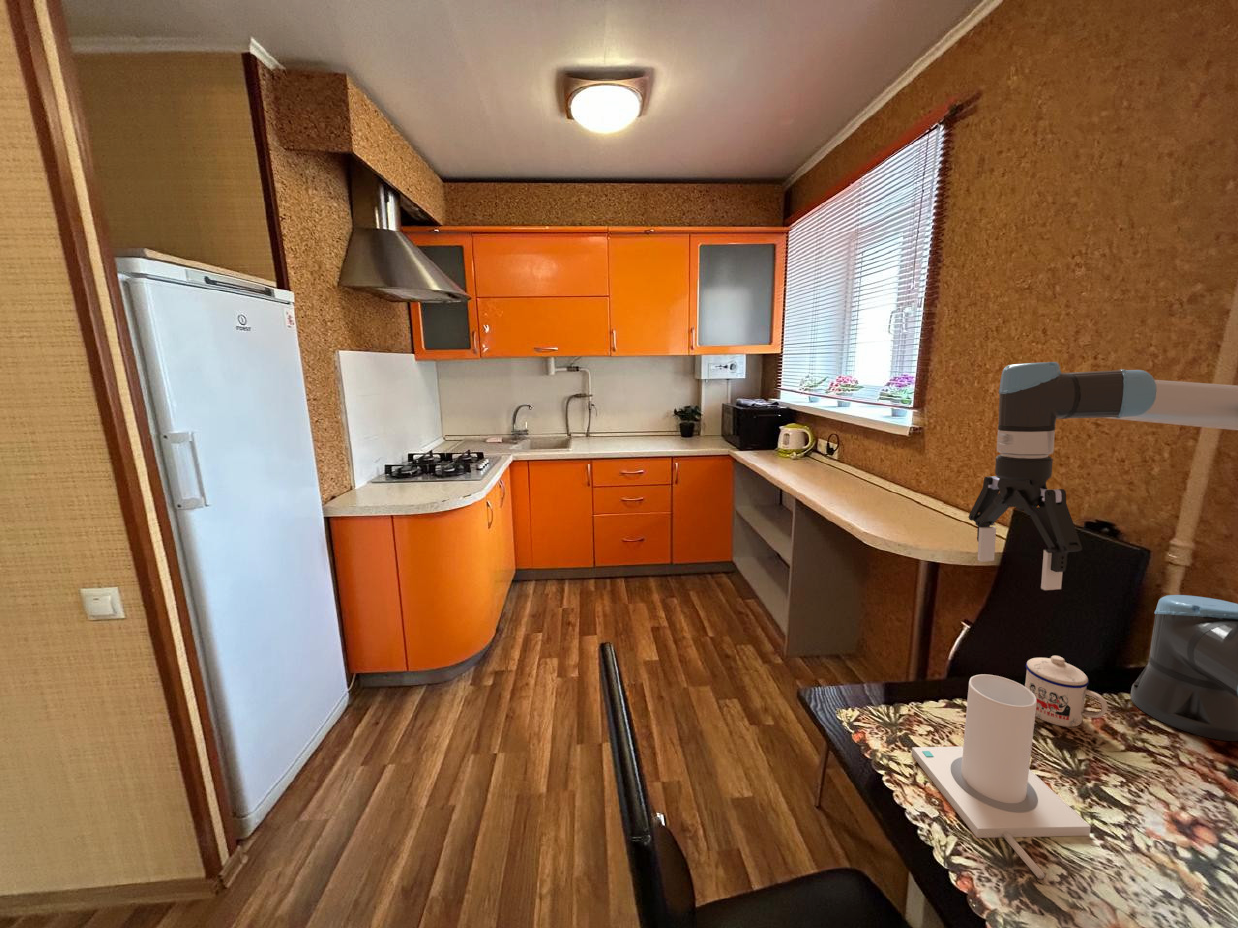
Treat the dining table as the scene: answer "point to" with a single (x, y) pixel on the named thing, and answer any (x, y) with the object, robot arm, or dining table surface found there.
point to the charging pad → (1000, 804)
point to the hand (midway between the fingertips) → (1015, 573)
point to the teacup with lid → (1060, 691)
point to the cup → (998, 737)
